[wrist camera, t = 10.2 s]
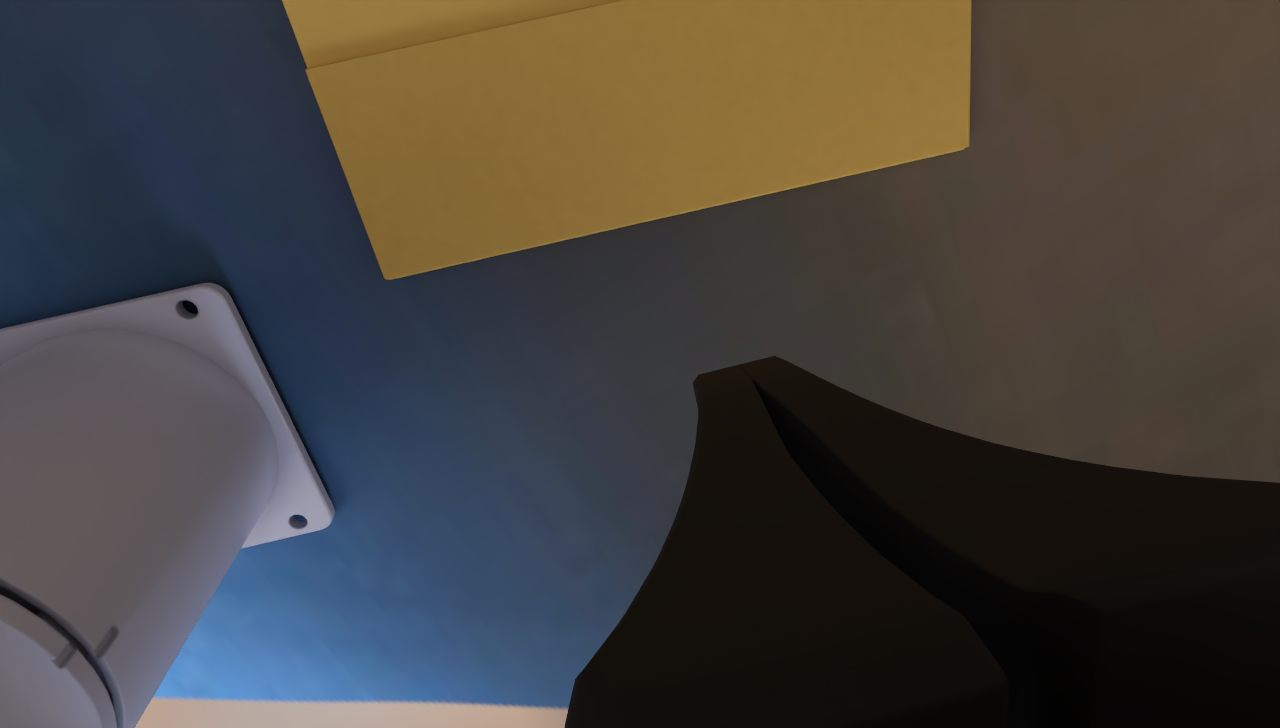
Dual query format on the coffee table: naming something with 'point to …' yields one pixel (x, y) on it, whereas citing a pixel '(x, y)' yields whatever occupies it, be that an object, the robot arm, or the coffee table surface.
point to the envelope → (616, 108)
